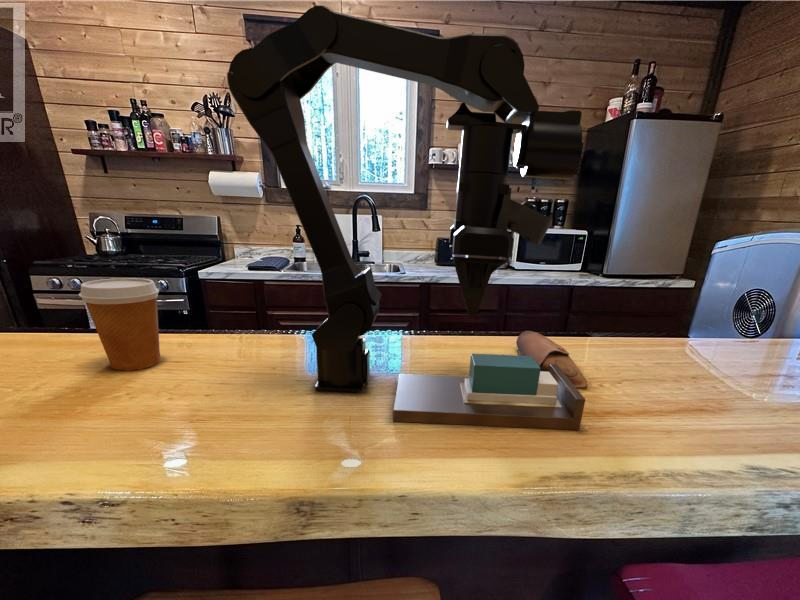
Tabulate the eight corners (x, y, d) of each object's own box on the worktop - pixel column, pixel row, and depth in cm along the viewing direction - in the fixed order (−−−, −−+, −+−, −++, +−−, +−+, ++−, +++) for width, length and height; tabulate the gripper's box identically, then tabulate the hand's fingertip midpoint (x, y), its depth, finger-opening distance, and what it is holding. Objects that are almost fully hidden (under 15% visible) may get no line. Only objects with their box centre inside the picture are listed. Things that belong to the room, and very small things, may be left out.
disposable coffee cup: (184, 361, 67) (171, 283, 62) (118, 379, 59) (96, 291, 55) (151, 349, 71) (136, 275, 67) (85, 364, 64) (63, 282, 59)
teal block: (467, 400, 54) (470, 365, 52) (464, 385, 58) (466, 352, 56) (555, 404, 53) (562, 369, 52) (545, 388, 58) (551, 356, 56)
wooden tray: (392, 421, 51) (393, 390, 49) (399, 383, 62) (399, 356, 61) (579, 430, 51) (585, 399, 49) (552, 390, 62) (556, 364, 60)
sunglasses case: (593, 386, 62) (576, 346, 60) (547, 406, 64) (529, 368, 62) (561, 348, 79) (547, 317, 77) (525, 365, 81) (510, 334, 79)
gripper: (575, 172, 42) (548, 329, 48) (535, 183, 59) (518, 296, 65) (461, 166, 42) (447, 322, 48) (454, 178, 59) (444, 292, 65)
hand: (469, 306), depth 57 cm, fingers open, 9 cm apart
